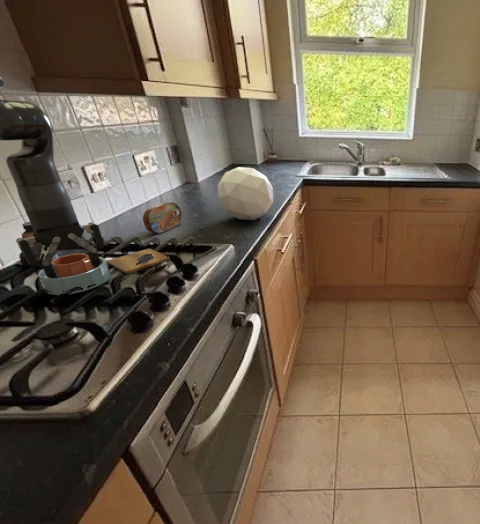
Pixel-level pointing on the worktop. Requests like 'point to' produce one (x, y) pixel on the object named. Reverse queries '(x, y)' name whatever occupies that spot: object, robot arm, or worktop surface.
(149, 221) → the tin
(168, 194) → the worktop surface
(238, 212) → the ball
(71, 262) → the small bowl
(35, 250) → the supplement bottle
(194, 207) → the worktop surface
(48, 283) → the big bowl
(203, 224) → the worktop surface
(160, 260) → the board
